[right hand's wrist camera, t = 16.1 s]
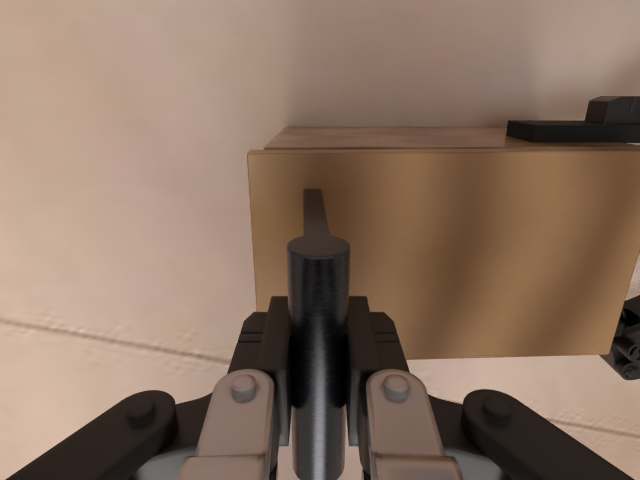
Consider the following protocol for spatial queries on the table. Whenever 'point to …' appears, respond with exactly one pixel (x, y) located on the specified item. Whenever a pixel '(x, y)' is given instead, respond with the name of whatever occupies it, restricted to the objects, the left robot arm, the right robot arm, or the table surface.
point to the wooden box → (413, 139)
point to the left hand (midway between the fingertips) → (502, 231)
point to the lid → (438, 260)
